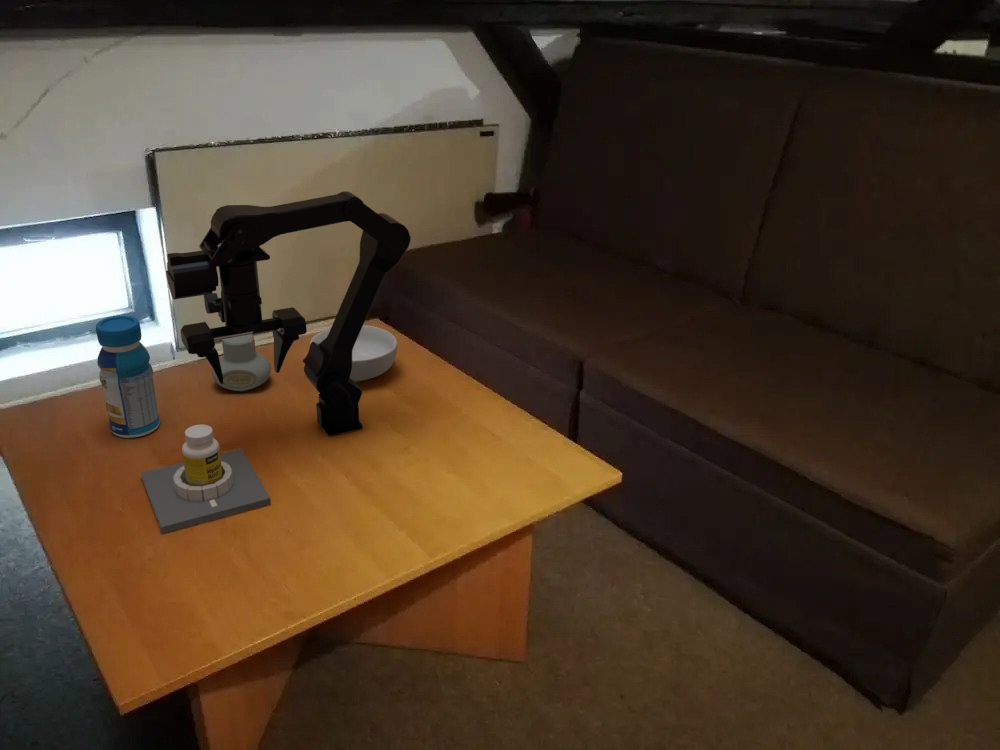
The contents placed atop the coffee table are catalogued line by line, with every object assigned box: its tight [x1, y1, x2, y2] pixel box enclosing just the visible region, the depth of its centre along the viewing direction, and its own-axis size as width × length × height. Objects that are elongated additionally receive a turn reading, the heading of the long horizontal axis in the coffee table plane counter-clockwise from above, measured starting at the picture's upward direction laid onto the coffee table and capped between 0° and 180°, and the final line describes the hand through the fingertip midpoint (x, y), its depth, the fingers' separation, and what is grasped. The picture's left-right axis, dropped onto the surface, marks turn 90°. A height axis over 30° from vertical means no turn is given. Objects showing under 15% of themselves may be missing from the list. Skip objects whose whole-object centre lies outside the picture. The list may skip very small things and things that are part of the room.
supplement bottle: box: [181, 424, 223, 486], centre depth 133 cm, size 5×5×10 cm
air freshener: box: [211, 334, 272, 392], centre depth 166 cm, size 11×8×10 cm
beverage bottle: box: [95, 315, 161, 439], centre depth 148 cm, size 8×8×20 cm
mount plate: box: [140, 448, 272, 535], centre depth 135 cm, size 16×16×3 cm
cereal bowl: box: [309, 324, 398, 383], centre depth 172 cm, size 17×17×7 cm
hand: (249, 377), depth 143 cm, fingers open, 9 cm apart
